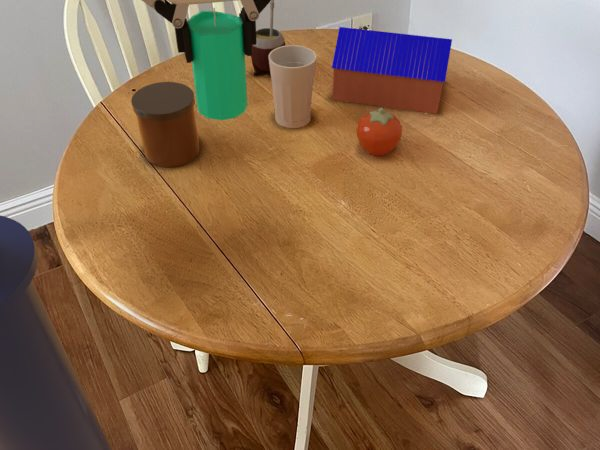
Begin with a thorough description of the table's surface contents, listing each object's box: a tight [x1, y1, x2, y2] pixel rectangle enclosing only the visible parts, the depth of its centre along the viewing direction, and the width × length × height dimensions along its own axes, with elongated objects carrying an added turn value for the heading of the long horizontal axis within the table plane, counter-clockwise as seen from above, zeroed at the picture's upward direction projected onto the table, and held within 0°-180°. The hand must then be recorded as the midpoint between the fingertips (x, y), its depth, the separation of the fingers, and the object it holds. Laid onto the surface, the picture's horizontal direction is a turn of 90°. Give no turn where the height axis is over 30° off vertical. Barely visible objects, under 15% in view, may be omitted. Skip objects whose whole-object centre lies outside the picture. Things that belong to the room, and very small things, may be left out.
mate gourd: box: [250, 0, 287, 77], centre depth 112 cm, size 8×8×15 cm
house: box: [331, 26, 453, 115], centre depth 108 cm, size 12×20×12 cm, turn 76°
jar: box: [130, 81, 201, 168], centre depth 94 cm, size 10×10×10 cm
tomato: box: [355, 107, 403, 157], centre depth 95 cm, size 7×7×8 cm
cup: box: [268, 44, 318, 129], centre depth 101 cm, size 8×8×12 cm
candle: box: [187, 7, 248, 121], centre depth 66 cm, size 6×6×12 cm
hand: (217, 52), depth 65 cm, fingers closed on candle, 5 cm apart
